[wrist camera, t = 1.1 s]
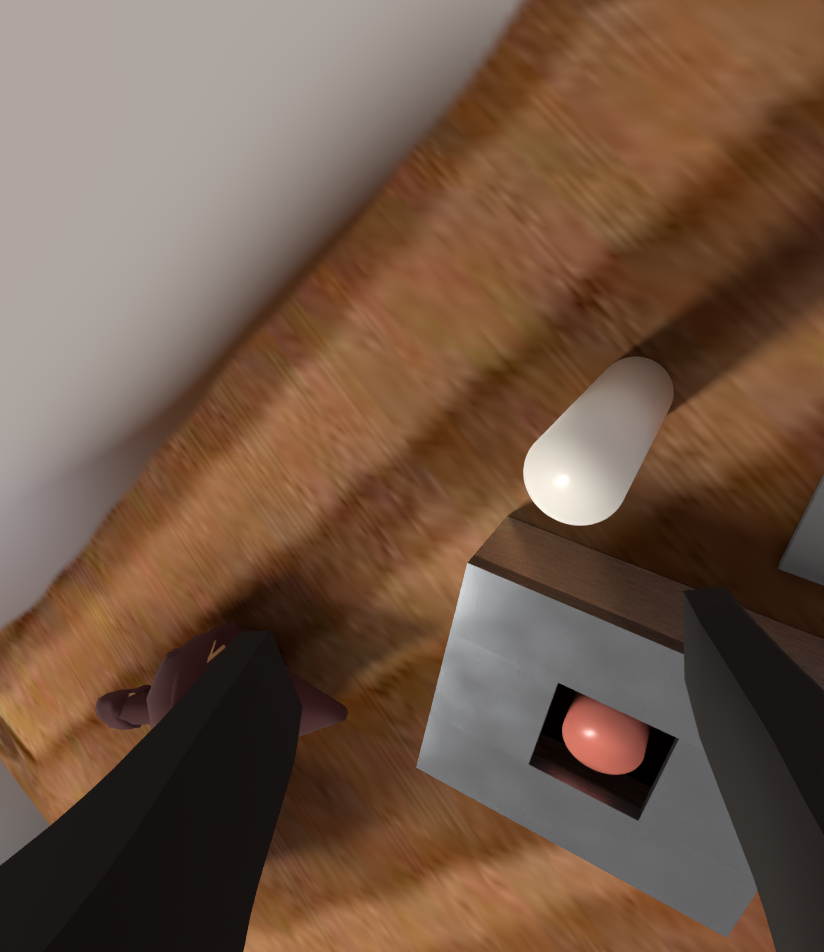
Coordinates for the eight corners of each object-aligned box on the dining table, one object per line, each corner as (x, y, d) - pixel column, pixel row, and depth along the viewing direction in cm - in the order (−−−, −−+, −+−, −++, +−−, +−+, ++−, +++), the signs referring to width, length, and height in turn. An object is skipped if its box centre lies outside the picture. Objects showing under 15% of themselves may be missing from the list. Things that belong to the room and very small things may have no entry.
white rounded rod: (685, 369, 21) (642, 448, 15) (659, 437, 22) (609, 540, 16) (610, 347, 22) (538, 413, 16) (588, 415, 23) (512, 503, 17)
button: (663, 701, 24) (656, 730, 22) (637, 756, 25) (629, 787, 24) (585, 665, 25) (574, 692, 23) (564, 720, 26) (553, 749, 25)
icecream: (265, 653, 25) (63, 642, 34) (298, 847, 25) (89, 787, 34) (380, 604, 31) (181, 606, 40) (406, 763, 31) (203, 730, 40)
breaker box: (851, 650, 22) (864, 730, 19) (732, 844, 27) (726, 937, 23) (507, 515, 26) (467, 563, 23) (455, 705, 31) (416, 767, 27)
